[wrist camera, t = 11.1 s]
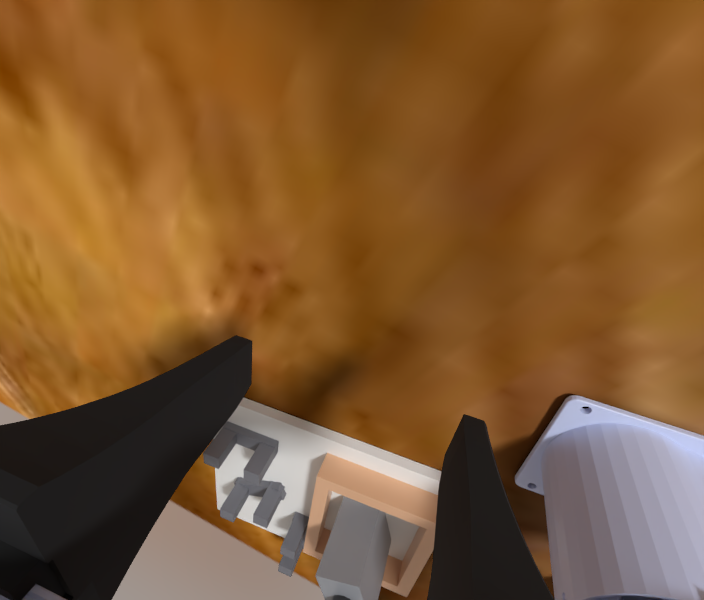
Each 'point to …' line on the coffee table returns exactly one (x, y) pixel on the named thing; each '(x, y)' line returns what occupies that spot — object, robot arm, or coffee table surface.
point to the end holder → (383, 497)
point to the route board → (296, 475)
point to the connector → (355, 553)
